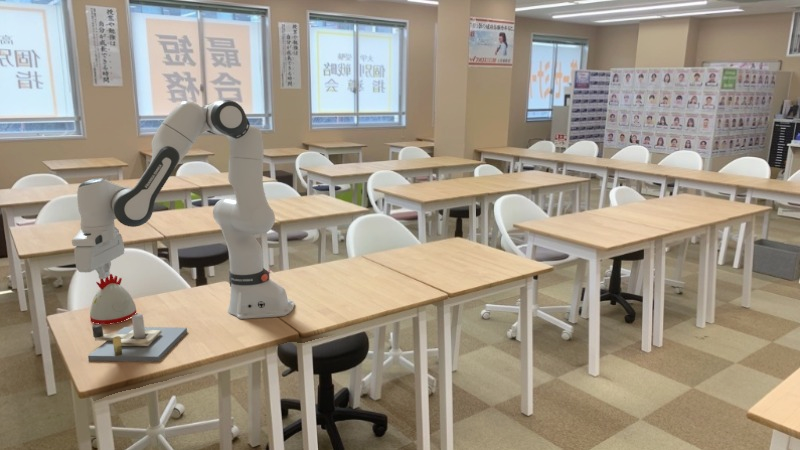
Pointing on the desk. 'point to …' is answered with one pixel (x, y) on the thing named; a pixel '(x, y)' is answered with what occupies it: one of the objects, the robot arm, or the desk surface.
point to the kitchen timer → (111, 302)
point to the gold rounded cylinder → (117, 345)
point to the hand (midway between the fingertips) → (104, 277)
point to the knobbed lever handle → (126, 337)
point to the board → (140, 352)
